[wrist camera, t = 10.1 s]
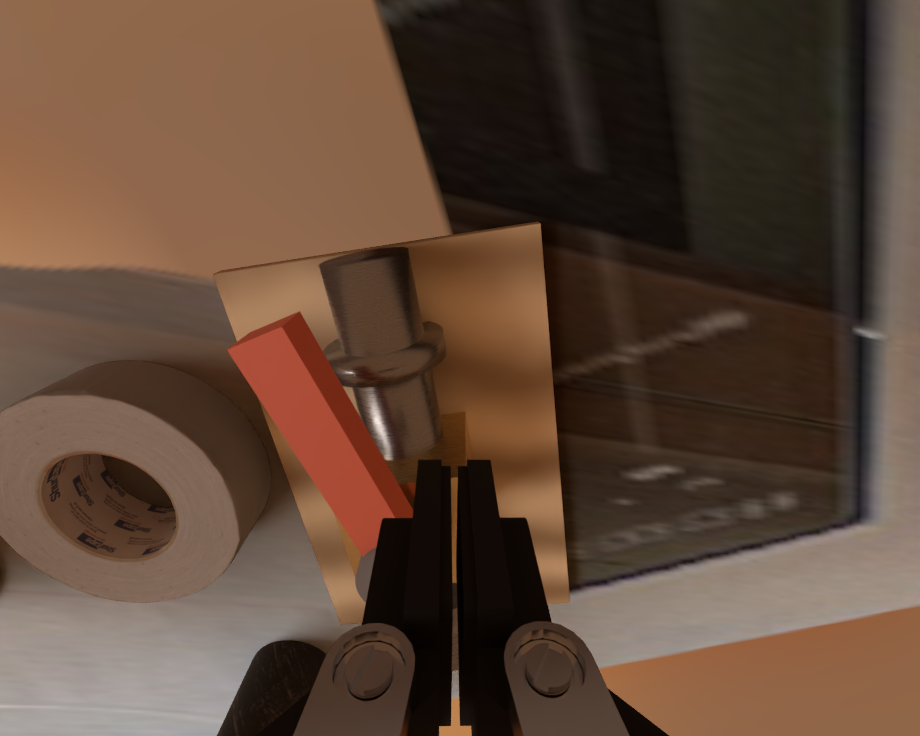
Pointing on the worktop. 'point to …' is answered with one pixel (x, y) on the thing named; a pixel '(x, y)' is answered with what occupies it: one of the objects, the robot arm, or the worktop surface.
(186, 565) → the tape roll
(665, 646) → the worktop surface
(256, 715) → the travel mug
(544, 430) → the mount board
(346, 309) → the valve
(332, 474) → the lever
